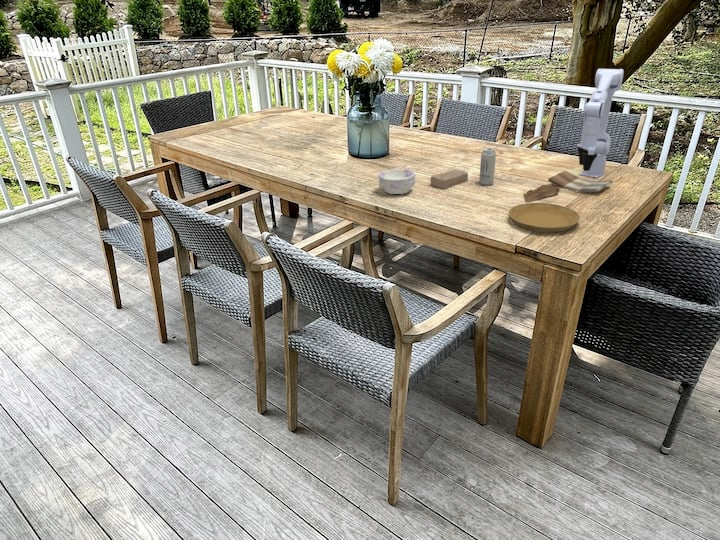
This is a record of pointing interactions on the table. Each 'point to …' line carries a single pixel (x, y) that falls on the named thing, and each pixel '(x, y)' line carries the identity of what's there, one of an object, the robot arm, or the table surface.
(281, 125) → the table surface
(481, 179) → the energy drink can
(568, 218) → the plant saucer
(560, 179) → the walnut plank
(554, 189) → the fossil skeleton slab
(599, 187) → the grey oak plank
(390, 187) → the paper bowls
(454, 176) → the brick
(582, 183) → the ash board
